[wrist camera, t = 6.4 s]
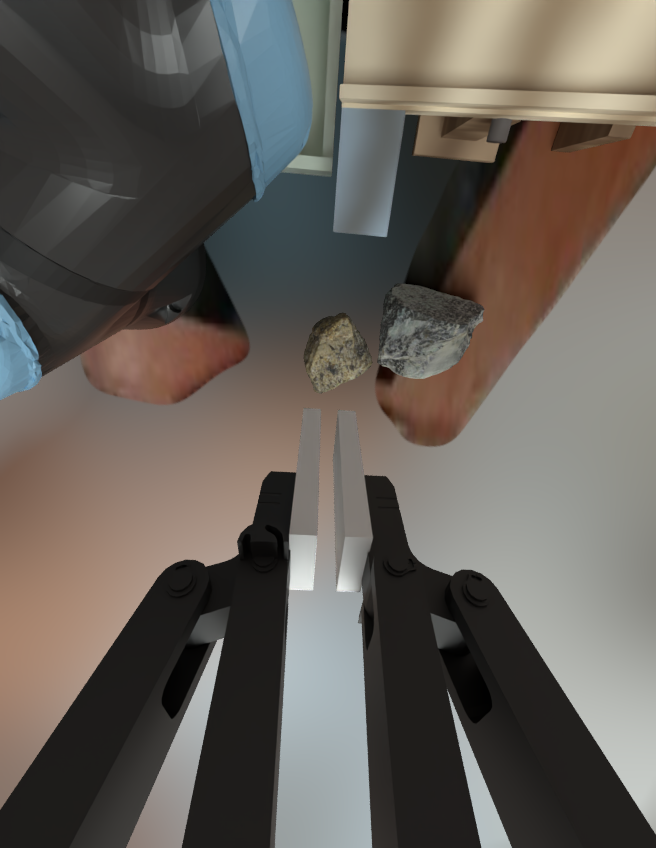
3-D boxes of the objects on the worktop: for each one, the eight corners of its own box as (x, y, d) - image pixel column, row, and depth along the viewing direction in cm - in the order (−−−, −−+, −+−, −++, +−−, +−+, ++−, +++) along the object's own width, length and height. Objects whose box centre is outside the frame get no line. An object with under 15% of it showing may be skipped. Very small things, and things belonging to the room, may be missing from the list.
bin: (200, 164, 28) (167, 153, 23) (174, -63, 22) (118, -161, 16) (331, 176, 29) (332, 168, 23) (344, -42, 22) (351, -130, 16)
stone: (481, 295, 25) (399, 393, 29) (507, 324, 33) (439, 398, 37) (399, 240, 29) (339, 333, 34) (440, 277, 37) (386, 349, 41)
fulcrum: (411, 155, 28) (439, 138, 21) (435, 14, 24) (479, -65, 17) (562, 170, 29) (635, 157, 22) (613, 35, 24) (725, -33, 17)
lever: (337, 230, 26) (326, 233, 22) (359, -55, 18) (347, -122, 14) (609, 257, 23) (646, 265, 20) (770, -63, 15) (881, -148, 12)
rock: (287, 335, 37) (283, 349, 33) (350, 304, 35) (353, 316, 32) (315, 384, 41) (314, 402, 37) (373, 359, 39) (378, 375, 35)
